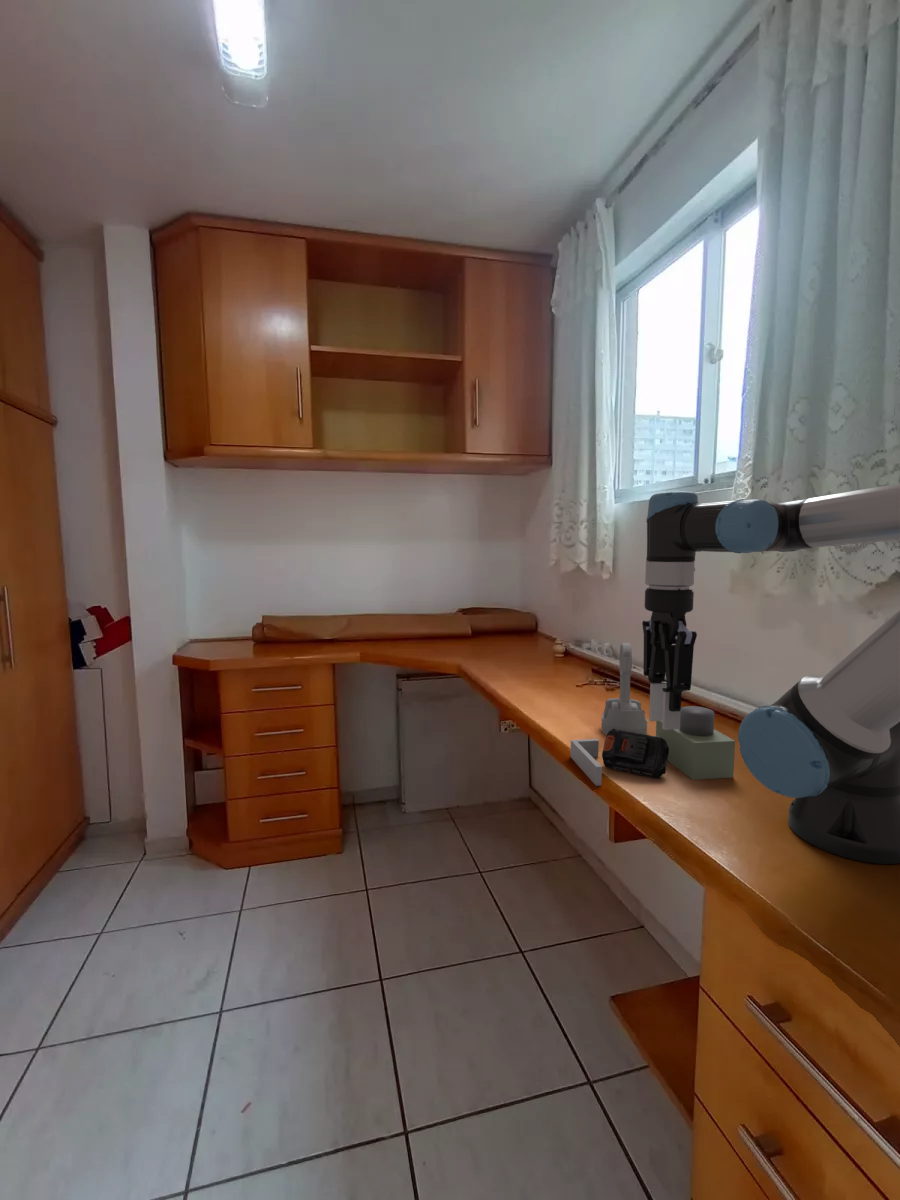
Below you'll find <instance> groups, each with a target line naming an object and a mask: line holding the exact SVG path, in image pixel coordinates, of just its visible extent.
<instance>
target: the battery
mask: <svg viewBox="0 0 900 1200" xmlns="http://www.w3.org/2000/svg"><path fill="white" fill-rule="evenodd" d="M668 754H669V748H668V745H667V742H666V740H664V739H663V738H660V737H656V735H649V734H647V735H644V734H637V733H634V732H627V731H622V730H616V729H612V730H611V731H609V732H608V733H607V734H605V739H604V744H603V749H602V752H601V757H602V761H603V765H604V766H605V767H606V768H607V769H611V770H616V771H620V772H626V773H630V774H636V775H638V776H645V777H649V778H655V779H660V778H661V777H662V776H663V775H666V773H667V765H668V761H667V759H668Z"/></svg>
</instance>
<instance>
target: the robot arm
mask: <svg viewBox="0 0 900 1200" xmlns="http://www.w3.org/2000/svg"><path fill="white" fill-rule="evenodd" d="M698 498H699V497H698V495H697V493H696V492H694V491H670V492H669V491H666V492H657V493H654V494H653V495H652V496H650V498H649V499H648V500H649V501H648V508H647V517H646V561H645V572H644V573H645V577H644V578H645V579H644V583H645V584H646V586H648V587H647V588H646V589H645V590H644V609H645V610H646V611H649V612H651V616H650V620H642V622H641V624H642V630H643V672H642V673H643V675H644V677H647V680H648V682H649V683H650V685H649V686H650V687H649V711H648V712H649V713H648V715H649V718H648V719H649V721H650V722H656V721H662V729H664V730H672V729H680V710H681V708H682V706H681V705H682V693H683V692H686V691H687V692H688V691H691V687H692V678H693V677H692V673H693V661H694V647H695V646H694V645H695V644H696V641H697V640H696V639H697V637H698V634H697V631H696V630H690V629H688V628H687V621H686V614H687V613H690V612H692V611H693V610H694V597H695V596H694V595H695V594H694V590H693V589H692V588H690V587H692V586H693V585H694V584H695V572H696V568H695V561H696V552H697V553H700V552H706V553H707V552H708V553H710V552H713V553H734V554H750V553H760V552H779V553H784V552H785V553H786V552H797V551H800V550H805V549H806V550H807V549H812V548H823V547H825V548H826V547H834V546H835V547H837V546H846V545H856V544H867V543H868V544H869V543H879V542H880V543H881V542H889V541H900V482H899V483H893V484H887V485H883V486H874V487H870V488H864V489H863V488H862V489H858V490H857V489H856V490H852V491H846V492H839V493H835V494H834V493H833V494H828V495H827V494H826V495H823V496H822V495H821V496H816V497H810V498H806V499H798V500H792V501H785V502H778V503H777V502H776V503H775V502H773V503H772V502H770V503H769V501H768V500H765V499H751V498H747V499H745V498H741V499H739V498H738V499H735V500H726V501H717V502H716V501H715V502H703V503H702V502H699V500H698ZM737 740H738V742H739V746H740V747H739V752H740V753H739V754H740V755H741V758H742V760H743V762H744V764H745V766H746V767H747V769H748V770H749V772H750V773H751V774H752V776H753V777H754V778H755V779H756V780H757V781H758V782H759V783H760V784H761V785H762V786H764V787H765V788H767V789H768V790H769V791H771V792H773V793H775V794H778V795H781V796H782V797H786V798H791V799H792V798H793V799H792V801H791V803H790V805H789V807H788V817H787V819H788V820H787V823H788V826H789V827H790V829H791V830H792V831H793V833H795V835H796V836H798V837H799V838H801V839H803V841H805V842H807V843H808V844H809V845H810V844H811V845H812V846H815V847H817V848H818V849H821V850H823V851H826V852H828V853H831V854H833V855H837V856H840V857H843V858H847V859H850V860H855V861H857V862H858V861H859V862H865V863H870V864H879V865H893V864H894V865H896V864H900V609H899V610H898V611H897V612H896V613H894V614H893V615H892V616H890V618H889V619H888V620H887V621H885V622H884V623H883V624H882V625H881V626H880V627H878V628H877V629H876V630H875V631H874V632H873V633H872V634H870V635H869V636H868V637H867V638H866V639H865V640H864V641H862V642H861V643H860V644H859V645H858V646H857V647H856V648H855V649H854V650H852V651H851V652H850V653H849V654H847V656H845V658H844V659H842V660H841V661H840V662H838V664H837V665H836V666H835V667H833V668H832V669H831V670H830V671H829V672H828V673H826V674H825V675H819V674H808V675H805V676H804V677H802V678H801V679H800V680H799V681H797V682H796V683H795V684H794V685H793V686H792V687H791V688H790V689H788V690H787V691H786V692H785V693H784V694H783V695H782V696H781V697H779V698H778V700H776V701H774V703H771V704H770V705H762V706H759V707H758V708H755V709H754V710H752V711H751V712H749V713H747V715H745V716H744V718H743V719H742V721H741V723H740V724H739V728H738V733H737Z"/></svg>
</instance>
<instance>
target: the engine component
mask: <svg viewBox="0 0 900 1200" xmlns="http://www.w3.org/2000/svg"><path fill="white" fill-rule="evenodd" d="M632 653H633V651H632V646H631V642H621V643H620V647H619V659H618V660H619V698H618V697H611V698H607V699H606V700H605V705H604V710H603V712H602V715H601V732H602V733H603V734H604V735H607V733H608V732H609V731H611V730H612V729H616V730H622V731H627V732H634V733H637V734H644V735H648V718H646V716H645V715H646V713H645V710H644V709H642V702H641V701H639V700H636V699H632V698H630V697H631V691H630V690H631V677H632V667H633V654H632Z"/></svg>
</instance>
